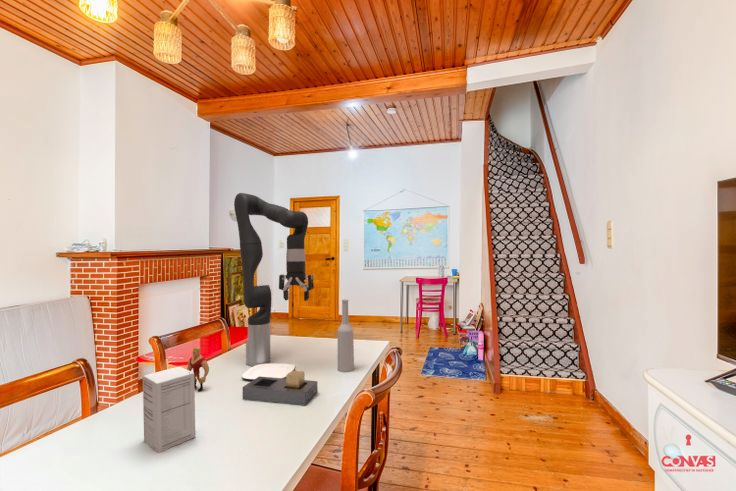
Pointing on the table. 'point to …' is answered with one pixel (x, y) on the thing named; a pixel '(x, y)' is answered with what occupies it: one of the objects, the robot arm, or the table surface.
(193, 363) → the action figure
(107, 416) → the table surface
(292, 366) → the plate
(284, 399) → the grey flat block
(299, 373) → the brass peg
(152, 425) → the supplement box
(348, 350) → the bottle
